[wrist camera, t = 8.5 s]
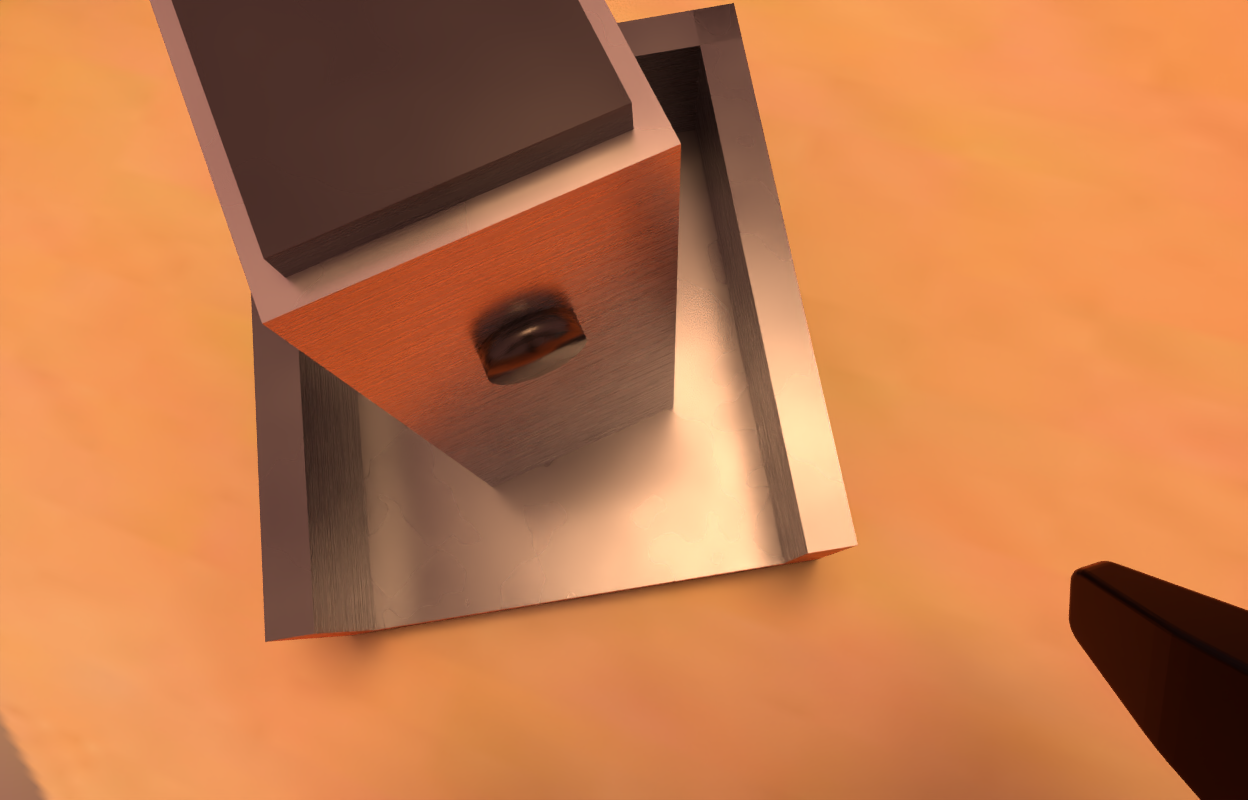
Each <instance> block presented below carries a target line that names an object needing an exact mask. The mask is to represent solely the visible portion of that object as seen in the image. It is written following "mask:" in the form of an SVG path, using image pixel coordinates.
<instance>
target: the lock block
mask: <svg viewBox="0 0 1248 800" xmlns="http://www.w3.org/2000/svg"><path fill="white" fill-rule="evenodd" d="M150 2H151V5H152V8H153V11H154V14H155V17H156V20H157V23H158V26H159V28H160V31H161V34H162V37H163V40H164V43H165V46H166V49H167V51H168V54H169V57H170V60H171V63H172V66H173V69H174V72H175V74H176V77H177V80H178V83H179V86H180V89H181V92H182V95H183V97H184V100H185V103H186V106H187V109H188V112H189V115H190V118H191V120H192V123H193V126H194V129H195V132H196V135H197V138H198V141H199V143H200V146H201V149H202V152H203V155H204V158H205V161H206V164H207V166H208V169H209V172H210V175H211V178H212V181H213V184H214V187H215V190H216V192H217V195H218V198H219V201H220V204H221V207H222V210H223V213H224V215H225V218H226V221H227V224H228V227H229V230H230V233H231V236H232V238H233V241H234V244H235V247H236V250H237V253H238V256H239V259H240V261H241V264H242V267H243V270H244V273H245V276H246V279H247V282H248V284H249V287H250V290H251V293H252V296H253V299H254V302H255V305H256V307H257V310H258V313H259V316H260V319H261V322H262V324H263V325H265V326H266V327H268V328H269V329H270V330H272V331H273V332H275V333H276V334H277V335H279V336H280V337H282V338H283V339H284V340H286V341H287V342H289V343H290V344H292V345H293V346H294V347H296V348H297V349H299V350H300V351H301V352H303V353H304V354H306V355H307V356H308V357H310V358H311V359H313V360H314V361H315V362H317V363H318V364H320V365H321V366H323V367H324V368H325V369H327V370H328V371H330V372H331V373H332V374H334V375H335V376H337V377H338V378H339V379H341V380H342V381H344V382H345V383H346V384H348V385H349V386H351V387H352V388H354V389H355V390H356V391H358V392H359V393H361V394H362V395H363V396H365V397H366V398H368V399H369V400H370V401H372V402H373V403H375V404H376V405H377V406H379V407H380V408H382V409H383V410H385V411H386V412H387V413H389V414H390V415H392V416H393V417H394V418H396V419H397V420H399V421H400V422H401V423H403V424H404V425H406V426H407V427H408V428H410V429H411V430H413V431H414V432H416V433H417V434H418V435H420V436H421V437H423V438H424V439H425V440H427V441H428V442H430V443H431V444H432V445H434V446H435V447H437V448H438V449H439V450H441V451H442V452H444V453H445V454H447V455H448V456H449V457H451V458H452V459H454V460H455V461H456V462H458V463H459V464H461V465H462V466H463V467H465V468H466V469H468V470H469V471H470V472H472V473H473V474H475V475H476V476H477V477H479V478H480V479H482V480H483V481H485V482H486V483H487V484H489V485H490V486H492V487H494V486H497V485H499V484H501V483H503V482H506V481H508V480H510V479H512V478H514V477H517V476H519V475H521V474H523V473H526V472H528V471H530V470H532V469H534V468H537V467H539V466H541V465H543V464H546V463H548V462H550V461H552V460H554V459H557V458H559V457H561V456H563V455H566V454H568V453H570V452H572V451H574V450H577V449H579V448H581V447H583V446H586V445H588V444H590V443H592V442H595V441H597V440H599V439H601V438H603V437H606V436H608V435H610V434H612V433H615V432H617V431H619V430H621V429H623V428H626V427H628V426H630V425H632V424H635V423H637V422H639V421H641V420H643V419H646V418H648V417H650V416H652V415H655V414H657V413H659V412H661V411H663V410H666V409H668V408H670V407H672V406H674V375H675V339H676V304H677V268H678V232H679V197H680V161H681V143H680V141H679V139H678V137H677V135H676V133H675V132H674V130H673V128H672V126H671V124H670V122H669V120H668V118H667V117H666V115H665V113H664V111H663V109H662V107H661V105H660V103H659V101H658V100H657V98H656V96H655V94H654V92H653V90H652V88H651V86H650V85H649V83H648V81H647V79H646V77H645V75H644V73H643V71H642V70H641V68H640V66H639V64H638V62H637V60H636V58H635V56H634V55H633V53H632V51H631V49H630V47H629V45H628V43H627V41H626V40H625V38H624V36H623V34H622V32H621V30H620V28H619V26H618V25H617V23H616V21H615V19H614V17H613V15H612V13H611V11H610V10H609V8H608V6H607V4H606V2H605V0H150Z"/></svg>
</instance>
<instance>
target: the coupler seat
mask: <svg viewBox="0 0 1248 800" xmlns="http://www.w3.org/2000/svg"><path fill="white" fill-rule="evenodd" d="M617 25H618V26H619V28H620V30H621V32H622V34H623V36H624V38H625V40H626V41H627V43H628V45H629V47H630V49H631V51H632V53H633V55H634V56H635V58H636V60H637V62H638V64H639V66H640V68H641V70H642V71H643V73H644V75H645V77H646V79H647V81H648V83H649V85H650V86H651V88H652V90H653V92H654V94H655V96H656V98H657V100H658V101H659V103H660V105H661V107H662V109H663V111H664V113H665V115H666V117H667V118H668V120H669V122H670V124H671V126H672V128H673V130H674V132H675V133H676V135H677V137H678V139H679V141H680V143H681V161H680V197H679V232H678V268H677V304H676V339H675V375H674V406H672V407H670V408H668V409H666V410H663V411H661V412H659V413H657V414H655V415H652V416H650V417H648V418H646V419H643V420H641V421H639V422H637V423H635V424H632V425H630V426H628V427H626V428H623V429H621V430H619V431H617V432H615V433H612V434H610V435H608V436H606V437H603V438H601V439H599V440H597V441H595V442H592V443H590V444H588V445H586V446H583V447H581V448H579V449H577V450H574V451H572V452H570V453H568V454H566V455H563V456H561V457H559V458H557V459H554V460H552V461H550V462H548V463H546V464H543V465H541V466H539V467H537V468H534V469H532V470H530V471H528V472H526V473H523V474H521V475H519V476H517V477H514V478H512V479H510V480H508V481H506V482H503V483H501V484H499V485H497V486H494V487H492V486H490V485H489V484H487V483H486V482H485V481H483V480H482V479H480V478H479V477H477V476H476V475H475V474H473V473H472V472H470V471H469V470H468V469H466V468H465V467H463V466H462V465H461V464H459V463H458V462H456V461H455V460H454V459H452V458H451V457H449V456H448V455H447V454H445V453H444V452H442V451H441V450H439V449H438V448H437V447H435V446H434V445H432V444H431V443H430V442H428V441H427V440H425V439H424V438H423V437H421V436H420V435H418V434H417V433H416V432H414V431H413V430H411V429H410V428H408V427H407V426H406V425H404V424H403V423H401V422H400V421H399V420H397V419H396V418H394V417H393V416H392V415H390V414H389V413H387V412H386V411H385V410H383V409H382V408H380V407H379V406H377V405H376V404H375V403H373V402H372V401H370V400H369V399H368V398H366V397H365V396H363V395H362V394H361V393H359V392H358V391H356V390H355V389H354V388H352V387H351V386H349V385H348V384H346V383H345V382H344V381H342V380H341V379H339V378H338V377H337V376H335V375H334V374H332V373H331V372H330V371H328V370H327V369H325V368H324V367H323V366H321V365H320V364H318V363H317V362H315V361H314V360H313V359H311V358H310V357H308V356H307V355H306V354H304V353H303V352H301V351H300V350H299V349H297V348H296V347H294V346H293V345H292V344H290V343H289V342H287V341H286V340H284V339H283V338H282V337H280V336H279V335H277V334H276V333H275V332H273V331H272V330H270V329H269V328H268V327H266V326H265V325H263V324H262V322H261V319H260V316H259V313H258V310H257V307H256V305H255V302H254V299H253V296H252V293H251V301H252V326H253V350H254V375H255V399H256V424H257V448H258V473H259V497H260V522H261V546H262V571H263V595H264V620H265V642H268V641H282V640H295V639H308V638H322V637H335V636H349V635H356V634H362V633H368V632H374V631H380V630H386V629H392V628H399V627H405V626H411V625H417V624H423V623H429V622H435V621H441V620H448V619H454V618H460V617H466V616H472V615H478V614H484V613H491V612H497V611H503V610H509V609H515V608H521V607H527V606H533V605H540V604H546V603H552V602H558V601H564V600H570V599H576V598H583V597H589V596H595V595H601V594H607V593H613V592H619V591H625V590H632V589H638V588H644V587H650V586H656V585H662V584H668V583H675V582H681V581H687V580H693V579H699V578H705V577H711V576H718V575H724V574H730V573H736V572H742V571H748V570H754V569H760V568H767V567H773V566H779V565H785V564H791V563H797V562H803V561H810V560H816V559H820V558H822V557H825V556H828V555H831V554H834V553H837V552H840V551H842V550H845V549H848V548H851V547H854V546H857V545H858V544H857V539H856V535H855V530H854V526H853V522H852V517H851V513H850V509H849V504H848V500H847V496H846V491H845V487H844V482H843V478H842V474H841V469H840V465H839V461H838V456H837V452H836V447H835V443H834V439H833V434H832V430H831V426H830V421H829V417H828V413H827V408H826V404H825V399H824V395H823V391H822V386H821V382H820V378H819V373H818V369H817V364H816V360H815V356H814V351H813V347H812V343H811V338H810V334H809V330H808V325H807V321H806V316H805V312H804V308H803V303H802V299H801V295H800V290H799V286H798V282H797V277H796V273H795V268H794V264H793V260H792V255H791V251H790V247H789V242H788V238H787V233H786V229H785V225H784V220H783V216H782V212H781V207H780V203H779V199H778V194H777V190H776V185H775V181H774V177H773V172H772V168H771V164H770V159H769V155H768V150H767V146H766V142H765V137H764V133H763V129H762V124H761V120H760V116H759V111H758V107H757V102H756V98H755V94H754V89H753V85H752V81H751V76H750V72H749V67H748V63H747V59H746V54H745V50H744V46H743V41H742V37H741V33H740V28H739V24H738V19H737V15H736V11H735V6H734V3H732V4H726V5H721V6H715V7H709V8H703V9H697V10H691V11H685V12H679V13H674V14H668V15H662V16H656V17H650V18H644V19H638V20H633V21H627V22H621V23H617Z"/></svg>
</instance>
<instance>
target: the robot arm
mask: <svg viewBox="0 0 1248 800" xmlns="http://www.w3.org/2000/svg"><path fill="white" fill-rule="evenodd" d="M1069 623H1070V627H1071V630H1072V632H1073V634H1074V636H1075V638H1076V639H1077V641H1078V642H1079V644H1080V645H1081V646H1082V648H1083V649H1084V651H1085V652H1086V653H1087V655H1088V656H1089V658H1090V659H1091V660H1092V662H1093V663H1094V664H1095V666H1096V667H1097V669H1098V670H1099V671H1100V673H1101V674H1102V675H1103V677H1104V678H1105V680H1106V681H1107V682H1108V684H1109V685H1110V687H1111V688H1112V689H1113V691H1114V692H1115V693H1116V695H1117V696H1118V698H1119V699H1120V700H1121V702H1122V703H1123V704H1124V706H1125V707H1126V709H1127V710H1128V711H1129V713H1130V714H1131V715H1132V717H1133V718H1134V720H1135V721H1136V722H1137V724H1138V725H1139V727H1140V728H1141V729H1142V731H1143V732H1144V733H1145V735H1146V736H1147V737H1148V738H1149V740H1150V741H1151V742H1152V744H1153V745H1154V746H1155V748H1156V749H1157V750H1158V751H1159V752H1160V754H1161V755H1162V756H1163V757H1164V758H1165V760H1166V761H1167V762H1168V763H1169V764H1170V766H1171V767H1172V768H1173V769H1174V770H1175V771H1176V772H1177V774H1178V775H1179V776H1180V777H1181V778H1182V779H1183V780H1184V781H1185V783H1186V784H1187V785H1188V786H1189V787H1190V788H1191V789H1192V791H1193V792H1194V793H1195V794H1196V795H1197V796H1198V797H1199V799H1200V800H1248V610H1245V609H1243V608H1240V607H1237V606H1234V605H1231V604H1229V603H1226V602H1223V601H1220V600H1217V599H1215V598H1212V597H1209V596H1206V595H1203V594H1201V593H1198V592H1195V591H1192V590H1189V589H1187V588H1184V587H1181V586H1178V585H1175V584H1173V583H1170V582H1167V581H1164V580H1161V579H1159V578H1156V577H1153V576H1150V575H1147V574H1145V573H1142V572H1139V571H1136V570H1133V569H1131V568H1128V567H1125V566H1122V565H1119V564H1117V563H1113V562H1109V561H1100V562H1097V563H1094V564H1091V565H1088V566H1085V567H1082V568H1079V569H1077V570H1075V571H1074V573H1073V574H1072V576H1071V584H1070V604H1069Z"/></svg>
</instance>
